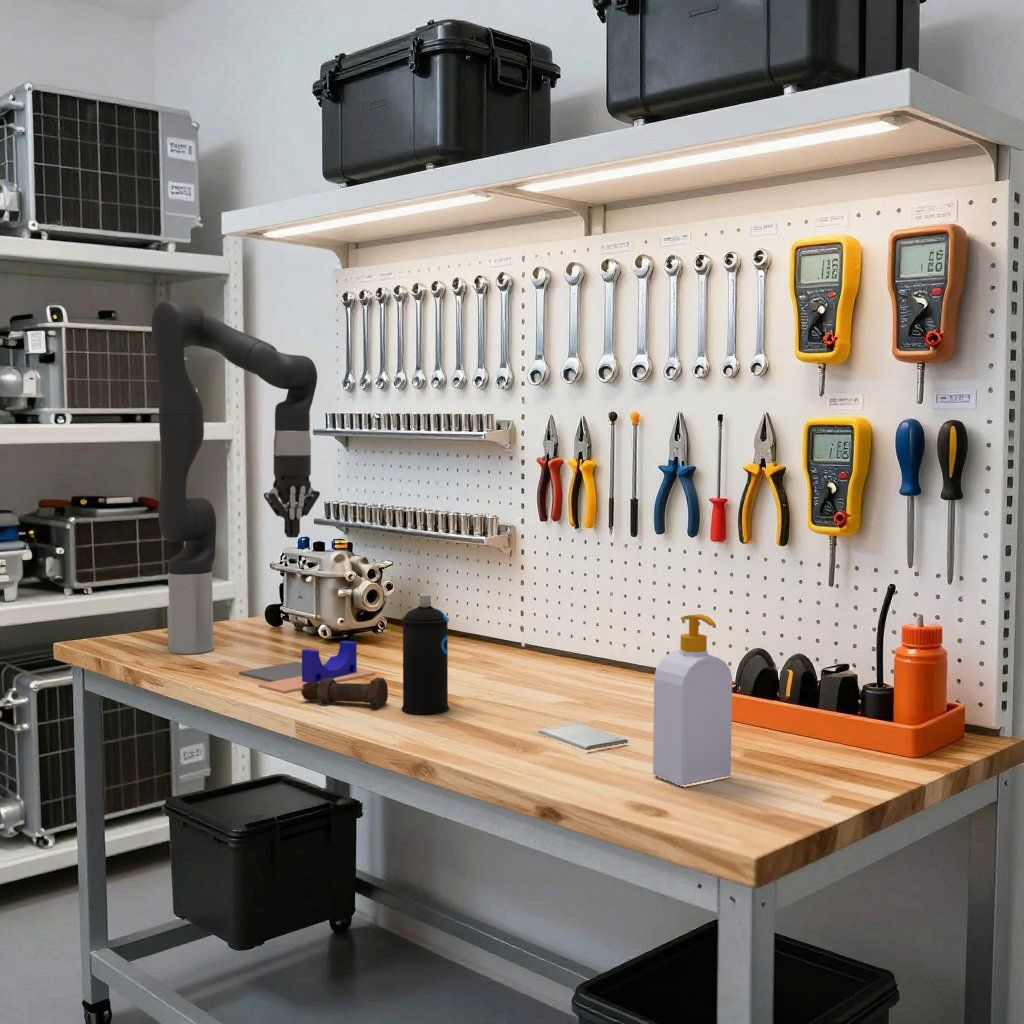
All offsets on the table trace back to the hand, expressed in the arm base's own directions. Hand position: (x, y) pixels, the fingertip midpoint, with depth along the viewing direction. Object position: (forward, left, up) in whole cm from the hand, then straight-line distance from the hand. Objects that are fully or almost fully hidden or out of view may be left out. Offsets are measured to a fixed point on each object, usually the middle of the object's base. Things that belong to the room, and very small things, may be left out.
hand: (292, 537), depth 237 cm
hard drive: (+82, -6, -27) cm, 86 cm away
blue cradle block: (+17, -5, -26) cm, 31 cm away
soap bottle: (+105, -11, -26) cm, 109 cm away
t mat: (+11, -7, -26) cm, 29 cm away
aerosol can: (+49, -9, -26) cm, 57 cm away
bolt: (+36, -16, -27) cm, 47 cm away
